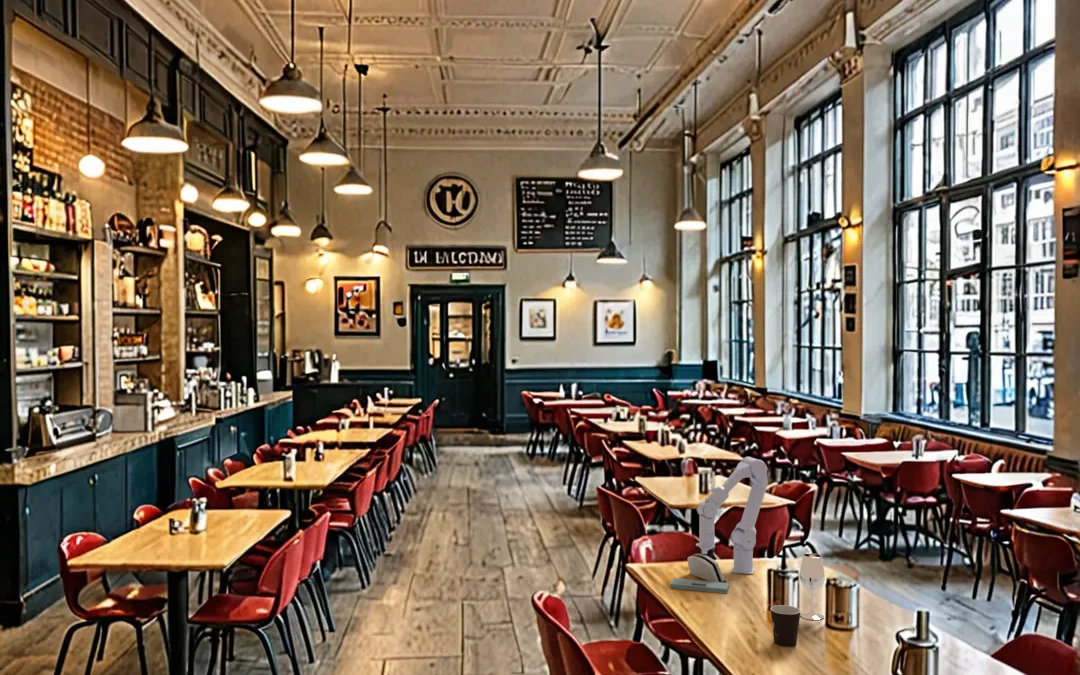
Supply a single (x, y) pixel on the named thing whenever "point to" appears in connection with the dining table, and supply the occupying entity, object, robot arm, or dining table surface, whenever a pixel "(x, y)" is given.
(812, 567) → the wineglass
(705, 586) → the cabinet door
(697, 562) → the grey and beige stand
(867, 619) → the dining table surface
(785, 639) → the coffee mug
